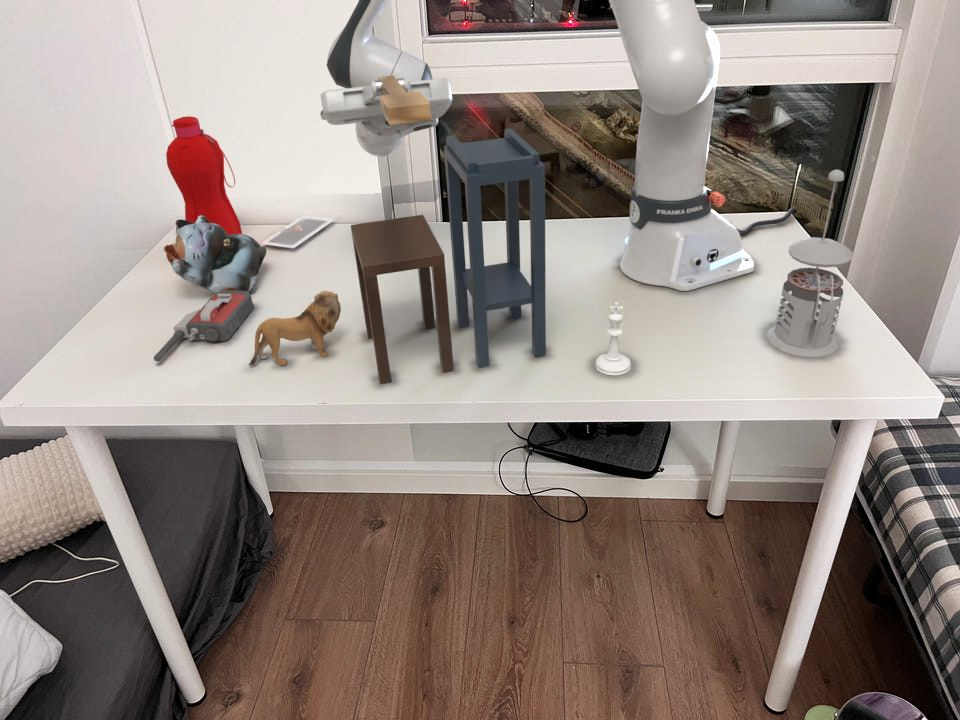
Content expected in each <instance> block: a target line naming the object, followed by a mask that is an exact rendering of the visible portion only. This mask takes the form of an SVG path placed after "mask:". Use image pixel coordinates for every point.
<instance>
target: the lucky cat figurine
mask: <svg viewBox="0 0 960 720" xmlns="http://www.w3.org/2000/svg"><path fill="white" fill-rule="evenodd" d="M175 225H176V226H175V238H174V239H175V240H174V241H173V243H170V244H166V245H165V246H164V247H163V251H164V253H166V254H165V255H166V259H167V261H168V262H169V263H170V266H171V268H172V271H173V273H174V274H176V275H178V276H179V277H181V279H183V280H185V281H188V282H190V283H192V284H193V285H197V286H199V287H201V288H203V289H206V290H208V291H209V292H212V293H214V294H216V293H218V292H220V291H222V290H227V291H247V292H251V291H252V289H253V288H254V287H255V286H256V284H257V282H258V278H259V271H260V268H261V266H262V264H263V262H264V259H265V258H266V256H267V255H266V254H267V248H266V247H265V246H262V245H261V244H260V243H259V242H257V240H255V239H254V238H253V237H252V236H250V235H247V234H243V233H242V234H232V235H228V234H227V232H226V231H225V229H224V228H222V227H221V226H220V225H218V224H214V223H210V222H209V221H208V219H207V218H206V217H205V216H202V215H201V216H198V219H197V221H196V222H195V223H193V222H188V221H186V220H185V219H180V218H179V219H176V221H175Z"/></svg>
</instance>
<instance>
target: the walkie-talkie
mask: <svg viewBox="0 0 960 720" xmlns="http://www.w3.org/2000/svg"><path fill="white" fill-rule="evenodd" d="M210 297H211V298H209V299H208V301H207V302H206V303H205V304H204V305H203V306H202V307H201V308H200V309H197V310H194V311H191V312H188V313H187V314H186V315H184V317H182V319H181V320H180V321H179V322H178V323H176V324H175V325H174V326H173V327H172V328H173V332H174V333H173V335H172V336H171V337H170V339H169V340H168V341H167V342H166V343H165V344H164V345H163V346H162V347H161V348H160V349H159V350H158V352H157V353H156V354H155V355H154V356H153V360H154V361H155V362H161V361H162V360H163V358H164V357H165V356H166V355H167V354H168V353H169V352H170V350H172V348H173V347H175V345H176V344H177V343H178V342H179V341H181V340H182V339H188V340H189V341H190V342H191V341H198V342H227V341H228V340H230V338H231V337H232V336H233V334H234V333H235V332H236V331H237V330H238V329H239V327H240V325H242V323H243V322H244V320H246V318H247V317H248V316H249V315H250V313H251V312H252V311H253V310H254V307H255V306H254V302H253V299H252V295H251V294H250V291H248V292H247V291H227V290H222V291H220V292H218V293H216V294H215V293H214V294H213V295H212V296H210Z"/></svg>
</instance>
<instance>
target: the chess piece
mask: <svg viewBox="0 0 960 720" xmlns="http://www.w3.org/2000/svg"><path fill="white" fill-rule="evenodd" d="M623 309H624V307H623V306H619V302H618V301H614V305H609V311H611V312H610V313H608V315H607V318H608V322H609V325H610V327H608V328H607V330H606V334H607V335H609V336H610V338H609V339H610V340H609V345H608V350H607V352H606V353H602V354H600V355H598V356H597V358H596V360H595V363H594V366H595V369H596V370H597V371H598V372H599V373H601V374H603V375H607V376H614V377H615V376H623V375H625V374H627V373H628V372H630V370H631V368H632V365H631V364H632V363H631V360H630V358H629V357H628V356H627V355H625V354H621V353H620V344H619V343H620V342H619V336H621V335H622V334H623V333H624V332H623V329H622V328H621V327H620V326H621V324H622V321H623V319H624V315H623V314H622V313H620V312H623Z"/></svg>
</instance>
